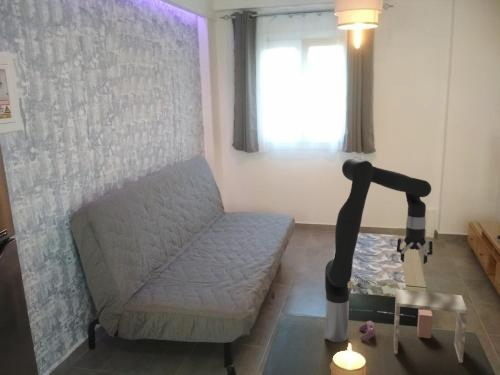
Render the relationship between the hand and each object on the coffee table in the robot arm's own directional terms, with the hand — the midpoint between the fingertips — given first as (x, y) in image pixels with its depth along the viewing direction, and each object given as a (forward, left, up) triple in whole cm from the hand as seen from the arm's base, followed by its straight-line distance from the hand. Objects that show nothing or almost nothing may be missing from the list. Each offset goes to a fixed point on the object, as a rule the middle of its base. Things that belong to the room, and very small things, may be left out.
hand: (413, 262), depth 193 cm
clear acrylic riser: (+5, -20, -28) cm, 35 cm away
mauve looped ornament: (-18, -16, -28) cm, 37 cm away
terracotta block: (+5, -9, -28) cm, 30 cm away
